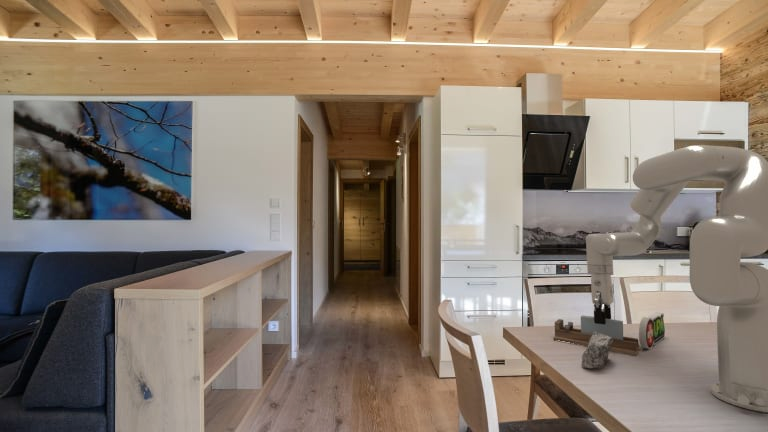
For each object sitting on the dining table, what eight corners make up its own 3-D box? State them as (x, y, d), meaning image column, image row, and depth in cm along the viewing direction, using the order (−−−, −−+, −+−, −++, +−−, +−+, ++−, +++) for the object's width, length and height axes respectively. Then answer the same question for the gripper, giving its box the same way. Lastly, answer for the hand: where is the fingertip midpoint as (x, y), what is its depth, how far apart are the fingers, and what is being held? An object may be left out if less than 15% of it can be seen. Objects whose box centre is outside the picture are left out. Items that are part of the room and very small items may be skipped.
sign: (659, 337, 129) (658, 309, 130) (665, 338, 128) (664, 310, 128) (639, 350, 115) (638, 319, 116) (646, 352, 114) (645, 320, 114)
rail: (635, 355, 111) (635, 336, 111) (553, 340, 126) (553, 323, 127) (639, 348, 117) (638, 330, 118) (560, 334, 133) (560, 318, 133)
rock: (598, 375, 96) (601, 337, 97) (566, 365, 102) (569, 329, 103) (620, 371, 105) (622, 336, 106) (589, 361, 112) (592, 329, 113)
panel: (622, 347, 116) (621, 322, 116) (581, 339, 124) (580, 316, 124) (623, 345, 117) (622, 320, 118) (582, 338, 125) (582, 315, 126)
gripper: (608, 272, 112) (611, 327, 111) (617, 268, 125) (620, 318, 124) (581, 271, 117) (584, 324, 116) (593, 267, 130) (595, 315, 129)
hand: (602, 321), depth 120 cm, fingers open, 9 cm apart
